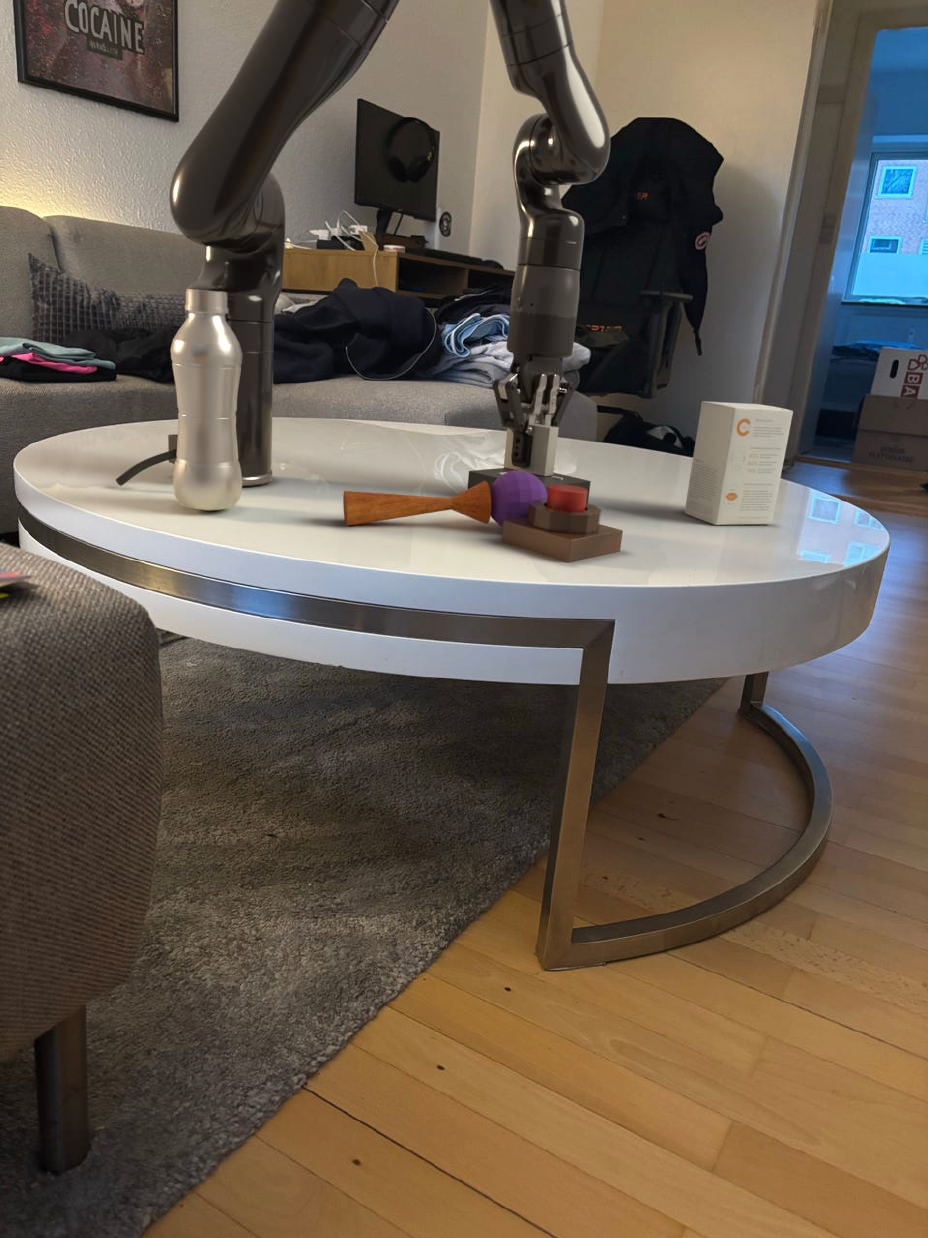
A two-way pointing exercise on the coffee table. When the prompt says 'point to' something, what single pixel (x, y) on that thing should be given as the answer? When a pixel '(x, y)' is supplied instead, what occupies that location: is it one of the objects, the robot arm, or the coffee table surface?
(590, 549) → the block
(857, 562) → the coffee table surface
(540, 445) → the beige square slab
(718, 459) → the small box
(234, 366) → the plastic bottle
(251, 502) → the coffee table surface
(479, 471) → the hob panel
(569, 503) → the button
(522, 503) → the kendama
